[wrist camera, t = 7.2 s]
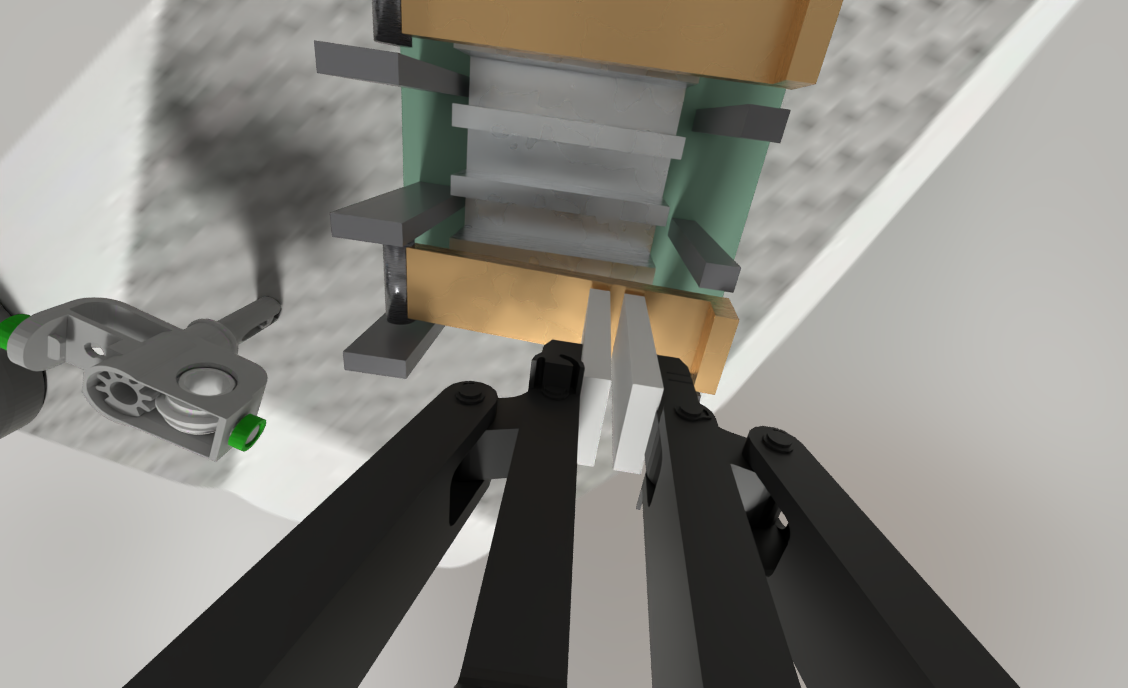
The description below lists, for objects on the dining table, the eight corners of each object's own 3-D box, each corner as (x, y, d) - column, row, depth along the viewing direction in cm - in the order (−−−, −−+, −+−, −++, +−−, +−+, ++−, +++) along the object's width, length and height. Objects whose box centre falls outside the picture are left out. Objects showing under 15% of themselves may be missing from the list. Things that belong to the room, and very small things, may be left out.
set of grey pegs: (420, 295, 25) (344, 370, 18) (417, -82, 18) (289, -226, 11) (667, 331, 25) (697, 423, 18) (760, -32, 18) (876, -140, 11)
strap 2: (394, 311, 20) (364, 333, 18) (391, 229, 19) (358, 242, 17) (705, 371, 19) (712, 401, 17) (730, 289, 17) (741, 312, 15)
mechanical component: (189, 246, 27) (-17, 311, 18) (356, 328, 28) (245, 425, 19) (182, 288, 28) (-15, 369, 19) (343, 365, 30) (232, 472, 21)
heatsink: (469, 293, 25) (447, 322, 22) (483, -55, 19) (456, -97, 15) (631, 317, 25) (637, 350, 22) (704, -22, 19) (729, -56, 15)
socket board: (415, 291, 27) (406, 301, 26) (411, -85, 19) (397, -101, 18) (702, 334, 27) (707, 345, 26) (808, -27, 19) (824, -38, 18)
